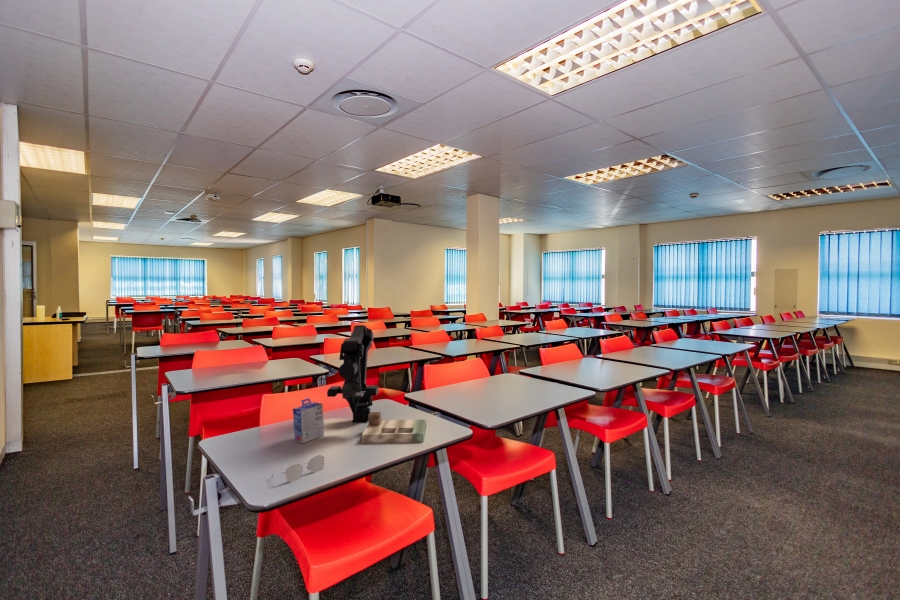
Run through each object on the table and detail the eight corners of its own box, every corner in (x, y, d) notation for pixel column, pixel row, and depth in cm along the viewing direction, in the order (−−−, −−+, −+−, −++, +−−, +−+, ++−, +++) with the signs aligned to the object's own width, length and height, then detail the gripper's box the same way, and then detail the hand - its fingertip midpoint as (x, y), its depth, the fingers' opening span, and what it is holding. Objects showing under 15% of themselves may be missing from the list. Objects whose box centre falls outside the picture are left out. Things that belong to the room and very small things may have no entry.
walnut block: (368, 425, 161) (368, 415, 161) (370, 422, 165) (370, 412, 165) (379, 425, 161) (378, 415, 161) (381, 422, 165) (380, 411, 165)
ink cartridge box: (315, 432, 163) (314, 395, 163) (324, 435, 160) (323, 397, 159) (293, 440, 155) (291, 401, 154) (302, 443, 152) (301, 403, 151)
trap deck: (362, 443, 151) (361, 434, 151) (370, 428, 167) (370, 420, 167) (423, 441, 151) (423, 433, 151) (426, 426, 167) (426, 419, 167)
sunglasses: (285, 486, 120) (283, 468, 120) (270, 483, 125) (268, 466, 126) (327, 469, 131) (324, 452, 131) (311, 466, 136) (309, 451, 136)
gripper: (321, 378, 154) (323, 420, 155) (372, 377, 154) (374, 419, 155) (330, 371, 165) (332, 411, 166) (378, 370, 165) (379, 410, 166)
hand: (353, 413), depth 163 cm, fingers closed
